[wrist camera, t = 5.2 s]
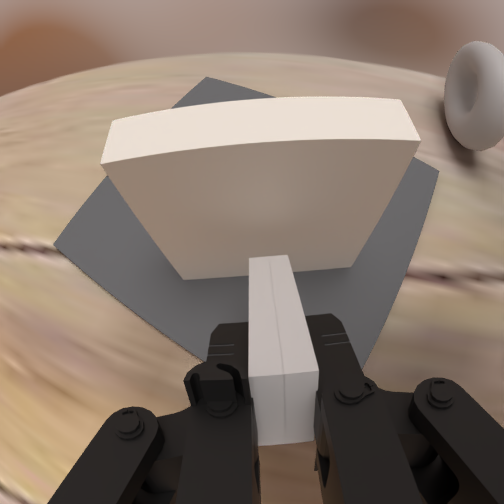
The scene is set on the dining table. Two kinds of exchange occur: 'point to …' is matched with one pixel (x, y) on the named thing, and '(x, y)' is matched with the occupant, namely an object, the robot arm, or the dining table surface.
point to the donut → (476, 96)
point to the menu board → (261, 179)
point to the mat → (237, 288)
